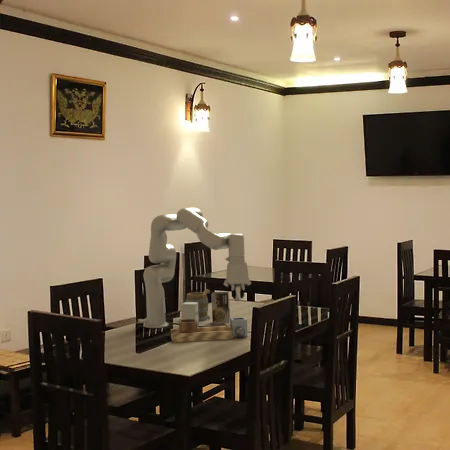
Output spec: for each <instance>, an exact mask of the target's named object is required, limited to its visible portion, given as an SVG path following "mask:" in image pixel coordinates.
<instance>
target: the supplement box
mask: <svg viewBox="0 0 450 450" xmlns="http://www.w3.org/2000/svg"><path fill="white" fill-rule="evenodd" d="M180 307H181V308H180V310H181V319H196V320H197V326H198V327H200V326H199V325H200V323H199V322H200V321H199V317H198V302H186V301H184V302H183V303H182V304H181V306H180Z"/></svg>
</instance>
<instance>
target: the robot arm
mask: <svg viewBox="0 0 450 450" xmlns="http://www.w3.org/2000/svg"><path fill="white" fill-rule="evenodd" d="M208 228H209V220H207V219H206V218H204V216H203V212H202V211H201V209H199V208H198V207H184V208H180V209H179V210H178V211H177V213H168V214H167V213H166V214H161V215H160V214H159V215H157V216H155V217H154V218H153V220H152V222H151V224H150V240H149V249H148V259H149V262H151V263H153V264H155V265H150V266H147V267H145V269H144V272H143V280H144V286H145V296H146V297H145V298H146V303H145V305H146V318H144V319H143V318H140V319H139V318H138V320H137V323H138V324H144V325H143V326H144V328H147V329H162V328H166V327H169V322H167V321H166V301H165V300H166V297H165V289H164V286H163V285H162V283H168V282H170V281H172V280H173V278H174V276H175V272H176V271H175V269H176V262H177V250H176V248H175V247H174V245H172V244H171V243H167V241H168V235H167V232H171V231H172V232H174V231H181V230H186V229H188V230H189V231H191V232H193V233H194V234H196V236H197V239H198V241H200V243H202V245H205V247H207V248H209V249H211V250H215V251H218V250H226V249H228V256H227V257H225V261H228V262H227V265H226V278H225V280H224V282H223V285H224V286H225V287H227V288H228V289H230V290H231V292H230V293H231V297H232V299H233V300H235V291H234V284H241V300H243V299H244V297H245V289H246V288H247V287H248V286H250V285H252V281H251V279H250V278H249V268H248V263H247V262H246V261H245V258H246V256H245V236H244V234H243V233H229V232H221V233H214V232H212V231H211V230H209V229H208Z"/></svg>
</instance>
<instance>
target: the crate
mask: <svg viewBox="0 0 450 450" xmlns="http://www.w3.org/2000/svg"><path fill="white" fill-rule="evenodd" d="M198 328H199V326H197V320H196V319H182V318H181V319H178V329H179V333H196V332H198Z"/></svg>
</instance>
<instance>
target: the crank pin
mask: <svg viewBox="0 0 450 450" xmlns="http://www.w3.org/2000/svg"><path fill="white" fill-rule="evenodd" d="M234 291H235V299H234V302H241V301H242V298H241V284H234Z"/></svg>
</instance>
